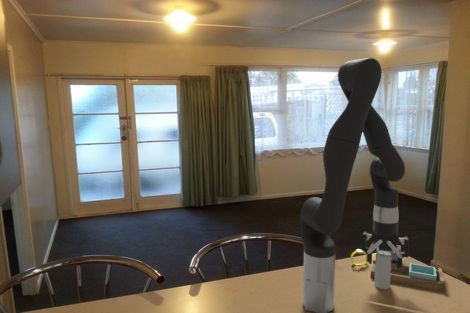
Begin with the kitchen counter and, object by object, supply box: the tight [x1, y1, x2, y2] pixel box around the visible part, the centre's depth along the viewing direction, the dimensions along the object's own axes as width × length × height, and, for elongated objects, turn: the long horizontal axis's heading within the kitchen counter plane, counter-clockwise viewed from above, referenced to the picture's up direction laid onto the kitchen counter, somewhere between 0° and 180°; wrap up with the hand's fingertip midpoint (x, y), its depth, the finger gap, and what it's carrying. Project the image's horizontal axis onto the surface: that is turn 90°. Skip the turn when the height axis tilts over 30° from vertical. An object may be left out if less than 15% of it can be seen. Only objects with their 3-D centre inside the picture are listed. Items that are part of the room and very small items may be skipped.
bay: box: [370, 259, 445, 292], centre depth 122 cm, size 10×22×4 cm, turn 64°
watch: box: [350, 248, 368, 267], centre depth 133 cm, size 6×3×6 cm, turn 86°
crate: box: [408, 262, 438, 282], centre depth 120 cm, size 7×8×4 cm
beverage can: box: [374, 250, 392, 290], centre depth 116 cm, size 5×5×12 cm
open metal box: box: [376, 244, 402, 263], centre depth 133 cm, size 8×8×6 cm
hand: (384, 265), depth 116 cm, fingers open, 8 cm apart
